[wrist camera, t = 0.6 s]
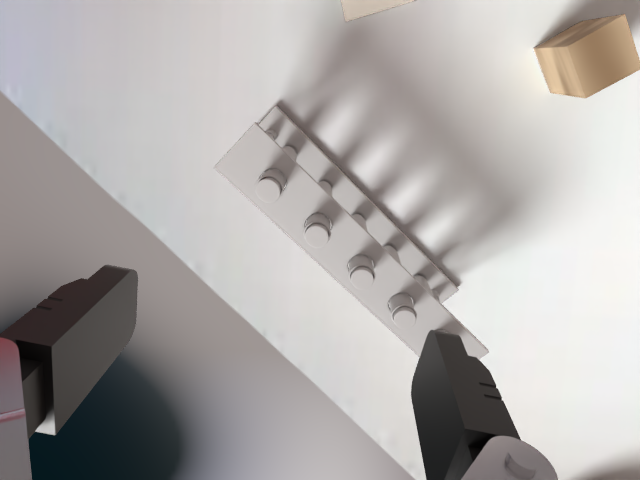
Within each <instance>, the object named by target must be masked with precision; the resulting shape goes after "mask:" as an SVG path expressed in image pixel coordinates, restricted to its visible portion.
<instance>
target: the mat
mask: <svg viewBox="0 0 640 480" xmlns="http://www.w3.org/2000/svg"><path fill="white" fill-rule="evenodd" d="M413 1H416V0H341V3H342V8H343V12H344V16H345V21H346V22H348V21H351V20H354V19H357V18H361V17H364V16H367V15H370V14H374V13H377V12H380V11H383V10H387V9H390V8H393V7H396V6H400V5H403V4H406V3H409V2H413Z"/></svg>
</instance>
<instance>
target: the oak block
mask: <svg viewBox="0 0 640 480" xmlns="http://www.w3.org/2000/svg"><path fill="white" fill-rule="evenodd" d="M533 50H534V53H535V55H536V58H537V60H538V63H539V66H540V68H541V71H542V73H543V76H544V78H545V81H546V84H547V86H548V89H549V91H550V93H555V94H561V95H568V96H574V97H581V98H587V97H589V96H591V95H593V94H595V93H597V92H599V91H601V90H602V89H604V88H606V87H608V86H610V85H612V84H614V83H616V82H618V81H619V80H621V79H623V78H625V77H627V76H629V75H631V74H633V73H634V72H636V71H638V70H640V60H639V57H638V54H637V51H636V47H635V44H634V41H633V38H632V35H631V32H630V28H629V25H628V22H627V19H626V16H625V14H623V15H616V16H610V17H604V18H598V19H592V20H586V21H581V22H579V23H577V24H575V25H574V26H572V27H570V28H568V29H567V30H565V31H563V32H561V33H560V34H558V35H556V36H554V37H553V38H551V39H549V40H547V41H546V42H544V43H542V44H540V45H539V46H537V47H535V48H533Z"/></svg>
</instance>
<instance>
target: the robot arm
mask: <svg viewBox="0 0 640 480" xmlns="http://www.w3.org/2000/svg"><path fill="white" fill-rule="evenodd" d="M137 286H138V276H137V272H136V271H135V270H132V269H127V268H122V267H117V266H111V265H105V266H103V267H102V268H101V269H100V270H98V271H97V272H96V273H95V274H94V275H92V276H91V277H90V278H89V279H88V280H87V279H79V280H76V281H74V282H71V283H68V284H66V285H63V286H61V287H60V288H59V289H57V290H56V291H55V292H53V293H52V294H51V295H50V296H48V299H44V300H43V301H42V302H41V303H39V304H38V305H37V307H36V308H33V309H32V310H30V311H29V312H28V313H26V314H25V315H24V316H23V317H21V318H20V319H19V320H17V321H16V322H15V323H14V324H12V325H11V326H10V327H8V328H7V329H6V330H5V331H3V332H2V333H1V334H0V480H32V478H31V467H30V456H29V446H28V439H29V438H30V436H31V435H32V434H33V433H34V432H35V431H36V432H41V433H46V434H52V435H56V434H57V432H58V431H59V429H60V428H61V427H62V426H63V425H64V423H65V422H66V421H67V419H68V418H69V417H70V416H71V415H72V413H73V412H74V411H75V409H76V408H77V407H78V406H79V405H80V403H81V402H82V401H83V399H84V398H85V397H86V396H87V394H88V393H89V392H90V391H91V389H92V388H93V387H94V385H95V384H96V383H97V382H98V380H99V379H100V378H101V377H102V375H103V374H104V373H105V371H106V370H107V369H108V368H109V366H110V365H111V364H112V363H113V361H114V360H115V359H116V358H117V356H118V355H119V354H120V352H121V351H122V350H123V349H124V347H125V346H126V345H127V343H128V342H129V341H130V338H131V337H132V334H133V331H134V328H135V324H136V309H137ZM411 397H412V404H413V409H414V414H415V420H416V425H417V431H418V436H419V441H420V447H421V452H422V457H423V463H424V468H425V473H426V479H427V480H558V478H557V474H556V472H555V470H554V468H553V466H552V465H551V463H550V462H549V461H548V460H547V458H546V457H545V456H544V455H543V454H542V453H540V452H539V451H538V450H537V449H535V448H534V447H532V446H531V445H529V444H527V443H526V442H524V441H521V439H520V437H519V435H518V432H517V430H516V428H515V426H514V424H513V421H512V419H511V417H510V415H509V413H508V410H507V408H506V406H505V404H504V402H503V401H501V398H502V397H501V395H500V393H499V391H498V389H497V388H496V384H495V382H494V380H493V378H492V375H491V373H490V371H489V370H488V369H487V368H486V367H485V366H484V365H483V364H482V363H481V362H480V361H479V360H478V358H477V357H473V356H468V354H467V352H466V349H465V347H464V344H463V342H462V339H461V337H460V336H459V335H457V334H451V333H446V332H441V331H436V330H430V331H429V333H428V335H427V337H426V340H425V343H424V346H423V349H422V352H421V355H420V358H419V361H418V364H417V367H416V370H415V373H414V376H413V381H412V389H411Z"/></svg>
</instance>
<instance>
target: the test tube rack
mask: <svg viewBox="0 0 640 480" xmlns="http://www.w3.org/2000/svg"><path fill="white" fill-rule="evenodd" d="M214 168H215V169H216V170H217V171H218V172H219V173H220V174H221V175H222V176H223V177H224V178H225V179H226V180H227V181H229V182H230V183H231V184H232V185H233V186H234V187H235V188H236V189H237V190H238V191H239V192H241V193H242V194H243V195H244V196H245V197H246V198H247V199H248V200H249V201H250V202H251V203H252V204H254V205H255V206H256V207H257V208H258V209H259V210H260V211H261V212H262V213H263V214H264V215H266V216H267V217H268V218H269V219H270V220H271V221H272V222H273V223H274V224H275V225H276V226H278V227H279V228H280V229H281V230H282V231H283V232H284V233H285V234H286V235H287V236H288V237H289V238H291V239H292V240H293V241H294V242H295V243H296V244H297V245H298V246H299V247H300V248H301V249H303V250H304V251H305V252H306V253H307V254H308V255H309V256H310V257H311V258H312V259H313V260H314V261H316V262H317V263H318V264H319V265H320V266H321V267H322V268H323V269H324V270H325V271H326V272H327V273H329V274H330V275H331V276H332V277H333V278H334V279H335V280H336V281H337V282H338V283H339V284H341V285H342V286H343V287H344V288H345V289H346V290H347V291H348V292H349V293H350V294H351V295H352V296H354V297H355V298H356V299H357V300H358V301H359V302H360V303H361V304H362V305H363V306H364V307H366V308H367V309H368V310H369V311H370V312H371V313H372V314H373V315H374V316H375V317H376V318H377V319H379V320H380V321H381V322H382V323H383V324H384V325H385V326H386V327H387V328H388V329H389V330H391V331H392V332H393V333H394V334H395V335H396V336H397V337H398V338H399V339H400V340H401V341H402V342H404V343H405V344H406V345H407V346H408V347H409V348H410V349H411V350H412V351H413V352H414V353H415V354H417V355H418V356H419V357H420V355H421V352H422V349H423V346H424V343H425V340H426V337H427V335H428V333H429V331H430V330H436V331H441V332H446V333H451V334H457V335H459V336H460V337H461V339H462V342H463V344H464V347H465V349H466V352H467V354H468V356H473V357H477V358H478V360H479V359H480V358H482V357H483V356H485V355H486V354H487V353H489V351H488V349H487V348H486V347H485V346H484V345H483V344H482V343H481V342H480V341H479V340H478V339H477V338H476V337H475V336H474V335H473V334H472V333H471V332H470V331H469V330H468V329H467V328H466V327H464V326H463V325H462V324H461V323H460V322H459V321H458V320H457V319H456V318H455V317H454V316H453V315H452V314H451V313H450V312H449V311H448V310H447V309H446V308H445V307H444V306H443V305H442V303H443V302H444V301H445V300H447V299H448V298H449V297H451V296H452V295H453V294H455V293H456V292H457V291H458V288H457V286H456V285H455V284H454V283H453V282H452V281H451V280H450V279H449V278H448V277H447V276H446V275H445V274H444V273H443V272H442V271H441V270H440V269H439V268H438V267H437V266H436V265H435V264H434V263H433V262H432V261H431V260H430V259H429V258H428V257H427V256H426V255H425V254H424V253H423V252H422V251H421V250H420V249H419V248H418V247H417V246H416V245H415V244H414V243H413V242H412V241H411V240H410V239H409V238H408V237H407V236H406V235H405V234H404V233H403V232H402V231H401V230H400V229H399V228H398V227H397V226H396V225H395V224H394V223H393V222H392V221H391V220H390V219H389V218H388V217H387V216H386V215H385V214H384V213H383V212H382V211H381V210H380V209H379V208H378V207H377V206H376V205H375V204H374V203H373V202H372V201H371V200H370V199H369V198H368V197H367V196H366V195H365V194H364V193H363V192H362V191H361V190H360V189H359V188H358V187H357V186H356V185H355V184H354V183H353V182H352V181H351V180H350V179H349V178H348V177H347V176H346V175H345V174H344V173H343V172H342V171H341V170H340V168H339V167H338V166H337V165H336V164H335V163H334V162H333V161H332V160H331V159H330V158H329V157H328V156H327V155H326V154H325V153H324V152H323V151H322V150H321V149H320V148H319V147H318V146H317V145H316V144H315V143H314V142H313V141H312V140H311V139H310V138H309V137H308V136H307V135H306V134H305V133H304V132H303V131H302V130H301V129H300V128H299V127H298V126H297V125H296V124H295V123H294V122H293V121H292V120H291V119H290V118H289V117H288V116H287V115H286V114H285V113H284V112H283V111H282V110H281V109H280V108H279V107H278V106H275V107H274V108H273V109H272V110H271V111H270V112H269V113H268V115H267V116H266V117H265V118H264V119H263V120H262V121H261V122H260V123H259V124H257V123H256V122H255V123H254V124H253V125H252V126H251V127H250V128H249V130H248V131H247V132H246V133H245V134H244V135H243V136H242V137H241V138H240V139H239V140H238V142H237V143H236V144H235V145H234V146H233V147H232V148H231V149H230V150H229V151H228V152H227V154H226V155H225V156H224V157H223V158H222V159H221V160H220V161H219V162H218V163H217V164H216V166H215V167H214ZM263 172H264V173H263ZM262 174H263V175H262ZM261 175H262V176H261ZM285 185H286V187H285ZM284 187H285V188H284ZM283 189H284V190H283ZM306 220H307V223H306ZM305 223H306V226H305ZM330 226H331V229H330ZM348 263H349V267H348ZM388 303H389V304H390V307H389V304H388Z"/></svg>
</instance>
